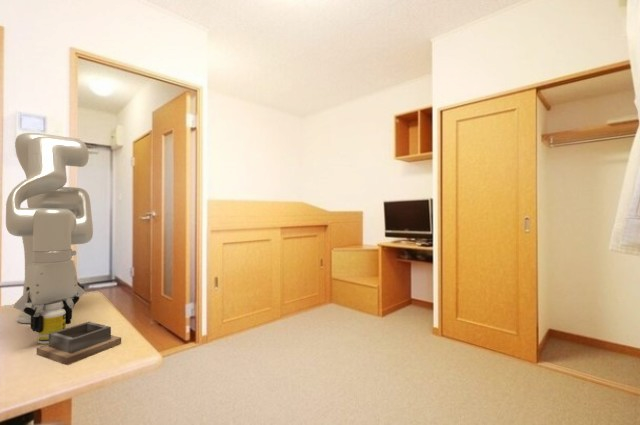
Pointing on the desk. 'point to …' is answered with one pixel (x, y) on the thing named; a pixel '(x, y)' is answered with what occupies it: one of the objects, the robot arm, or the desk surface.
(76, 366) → the desk surface
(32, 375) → the desk surface
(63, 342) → the socket stand
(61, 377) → the desk surface
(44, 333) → the supplement bottle
